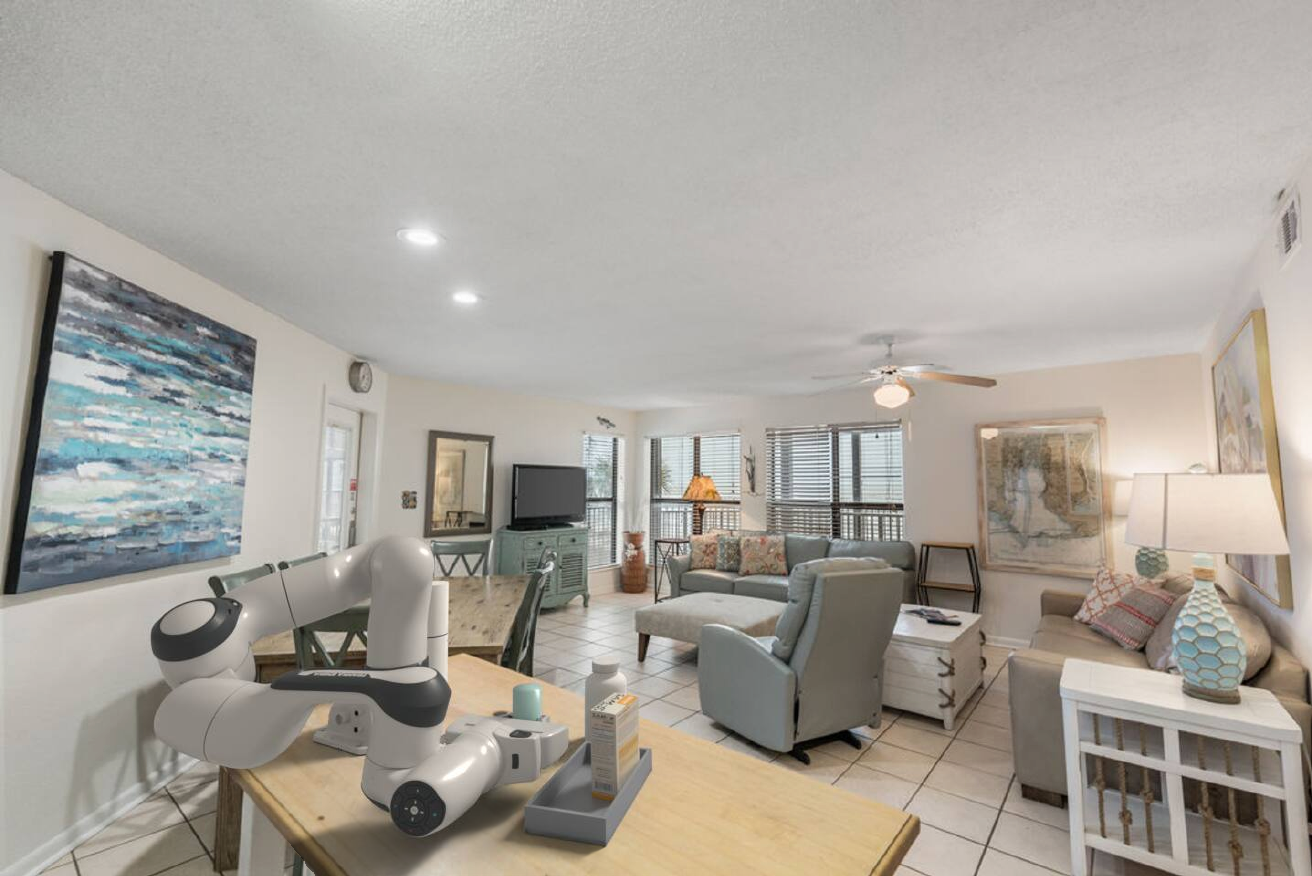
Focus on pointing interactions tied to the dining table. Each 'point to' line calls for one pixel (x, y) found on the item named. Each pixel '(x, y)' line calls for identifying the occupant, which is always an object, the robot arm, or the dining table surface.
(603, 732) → the supplement box
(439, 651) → the cylindrical container
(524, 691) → the candle
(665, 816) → the dining table surface
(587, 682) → the pill bottle
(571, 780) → the tote
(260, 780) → the dining table surface
